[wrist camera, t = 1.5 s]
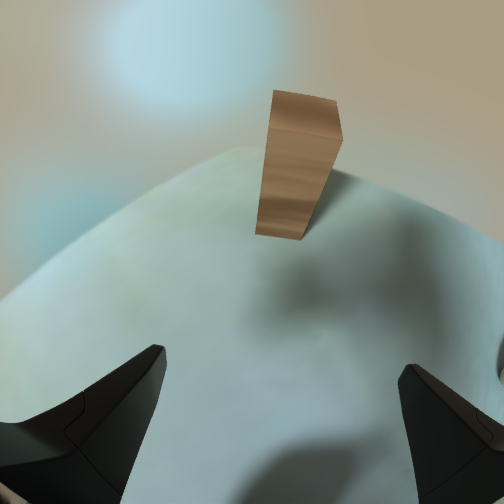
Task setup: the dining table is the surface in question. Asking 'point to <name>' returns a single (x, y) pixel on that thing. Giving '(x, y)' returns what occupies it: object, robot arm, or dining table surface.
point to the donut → (502, 377)
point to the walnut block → (296, 162)
